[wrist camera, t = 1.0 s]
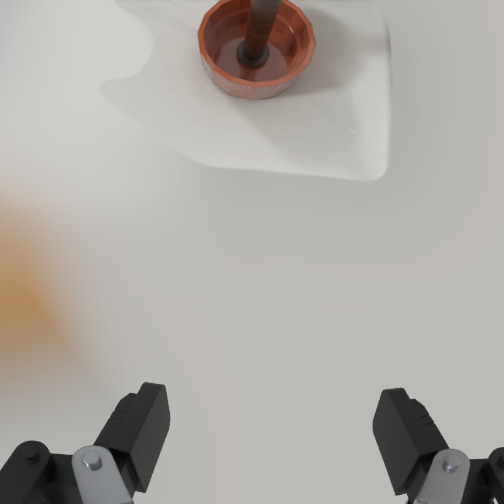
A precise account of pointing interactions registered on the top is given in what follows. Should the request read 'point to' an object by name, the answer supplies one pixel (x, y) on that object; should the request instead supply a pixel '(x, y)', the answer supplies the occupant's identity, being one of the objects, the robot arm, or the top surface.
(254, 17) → the brown wooden pestle
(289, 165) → the top surface
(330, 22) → the top surface
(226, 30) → the bowl
